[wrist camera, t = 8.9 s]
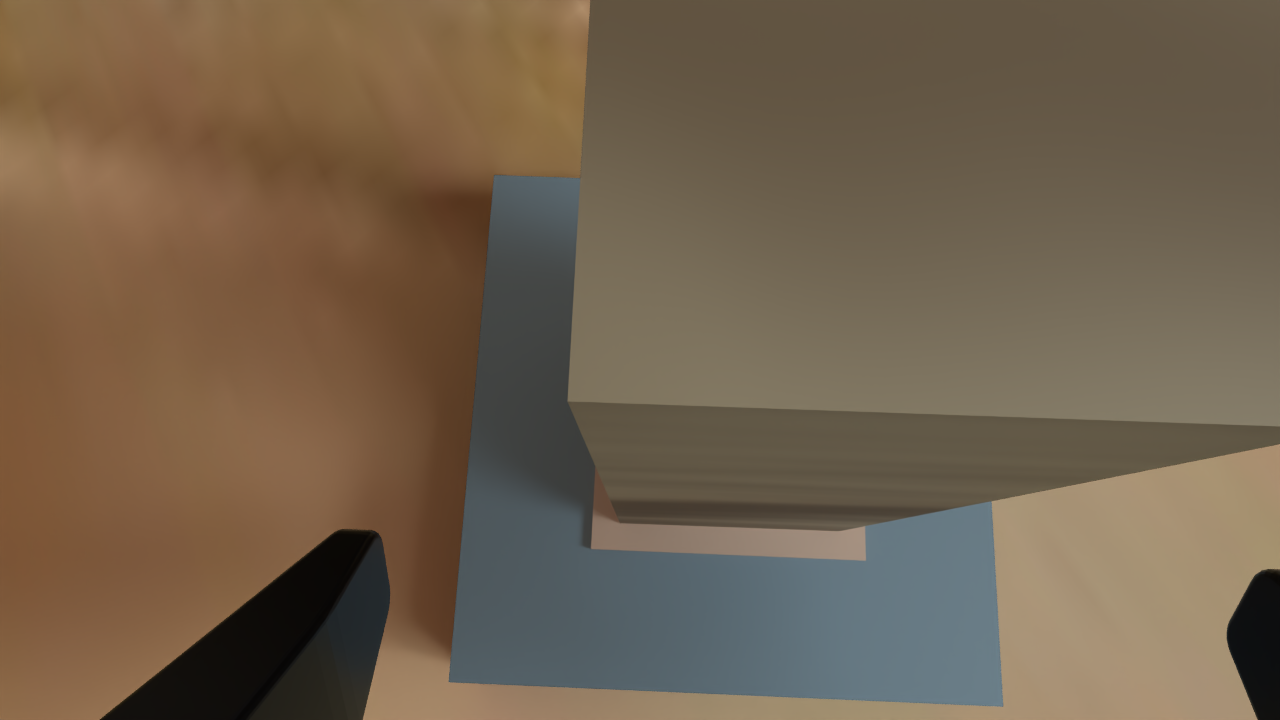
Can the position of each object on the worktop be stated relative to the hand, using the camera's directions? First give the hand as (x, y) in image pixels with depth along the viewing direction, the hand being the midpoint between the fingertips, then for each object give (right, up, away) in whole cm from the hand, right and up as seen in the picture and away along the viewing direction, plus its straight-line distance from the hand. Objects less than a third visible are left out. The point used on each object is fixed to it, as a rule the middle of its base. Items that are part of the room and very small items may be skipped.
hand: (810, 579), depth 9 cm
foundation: (0, 0, +12) cm, 12 cm away
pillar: (0, +1, +9) cm, 9 cm away
